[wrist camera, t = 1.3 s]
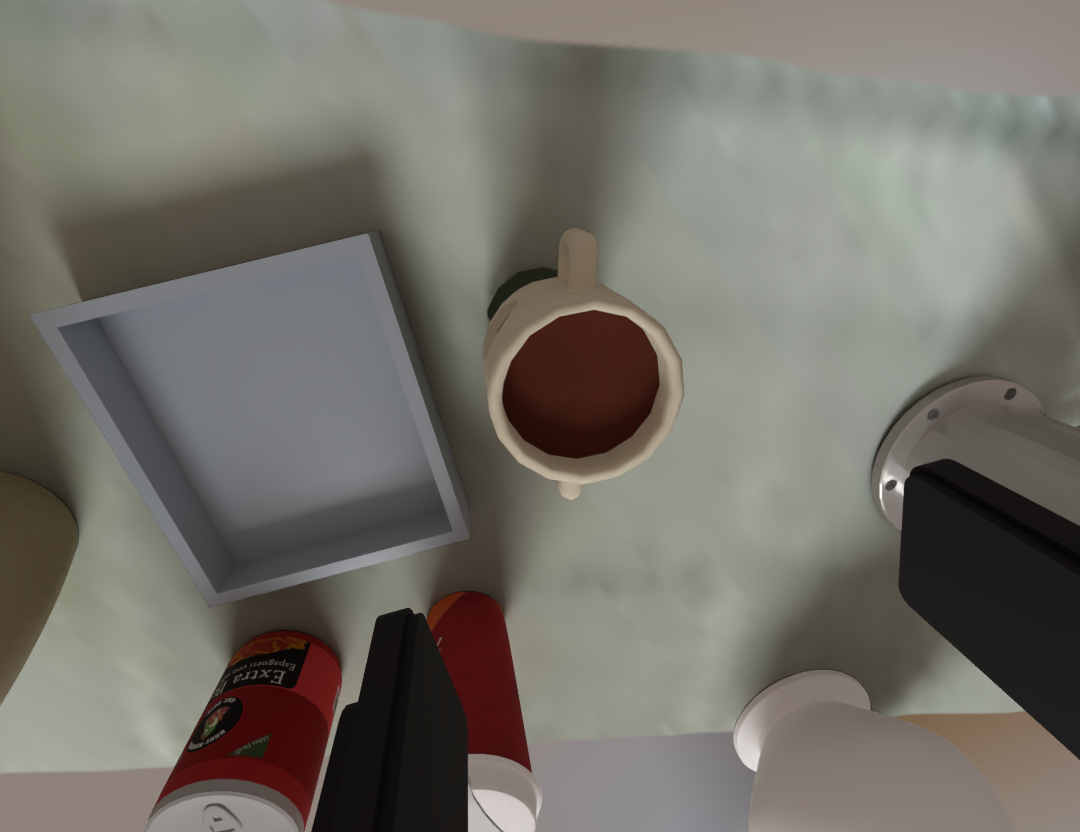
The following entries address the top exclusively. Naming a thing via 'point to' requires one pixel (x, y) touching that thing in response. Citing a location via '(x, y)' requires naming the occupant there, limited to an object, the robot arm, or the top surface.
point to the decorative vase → (854, 765)
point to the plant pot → (29, 567)
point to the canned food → (256, 742)
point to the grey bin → (270, 415)
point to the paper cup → (488, 712)
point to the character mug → (577, 372)
